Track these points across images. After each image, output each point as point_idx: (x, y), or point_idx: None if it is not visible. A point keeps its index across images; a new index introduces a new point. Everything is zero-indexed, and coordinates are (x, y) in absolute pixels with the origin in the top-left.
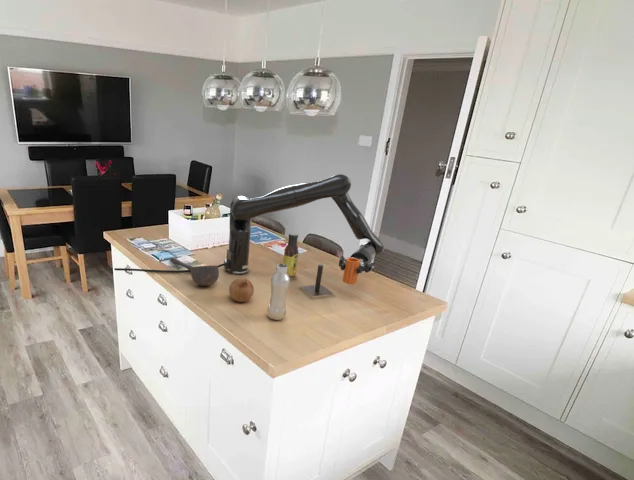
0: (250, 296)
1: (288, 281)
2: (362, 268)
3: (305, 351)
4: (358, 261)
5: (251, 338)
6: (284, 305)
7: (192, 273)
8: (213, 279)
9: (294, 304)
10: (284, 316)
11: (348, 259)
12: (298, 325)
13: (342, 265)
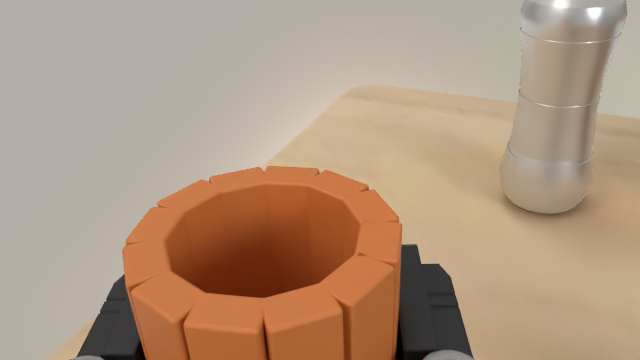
0: None
1: (523, 6)
2: (90, 330)
3: (321, 128)
4: (160, 214)
5: (487, 110)
6: (512, 132)
7: None
8: None
9: (608, 346)
10: (503, 189)
11: (359, 239)
12: (425, 203)
13: (406, 246)
